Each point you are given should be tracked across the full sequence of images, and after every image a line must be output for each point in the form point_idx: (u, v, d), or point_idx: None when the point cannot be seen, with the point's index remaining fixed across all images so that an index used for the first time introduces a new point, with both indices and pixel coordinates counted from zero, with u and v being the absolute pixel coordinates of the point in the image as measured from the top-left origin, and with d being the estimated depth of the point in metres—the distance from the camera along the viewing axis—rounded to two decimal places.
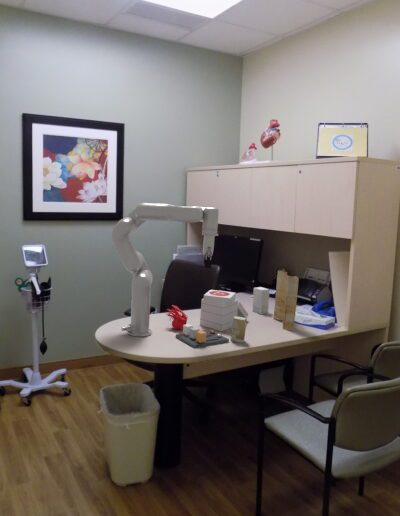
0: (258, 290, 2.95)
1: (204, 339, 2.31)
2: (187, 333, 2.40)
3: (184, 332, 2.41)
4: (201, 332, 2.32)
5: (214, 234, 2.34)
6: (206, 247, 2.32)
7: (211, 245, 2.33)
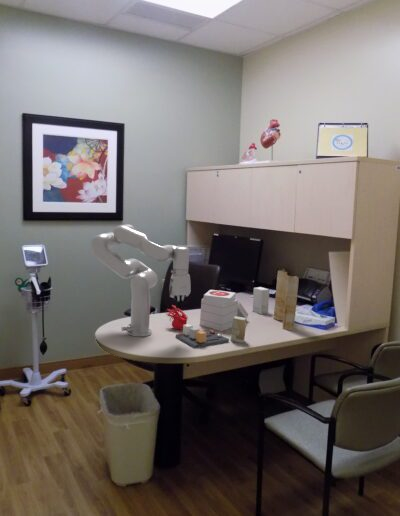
0: (258, 290, 2.95)
1: (204, 339, 2.31)
2: (187, 333, 2.40)
3: (184, 332, 2.41)
4: (201, 332, 2.32)
5: None
6: None
7: None
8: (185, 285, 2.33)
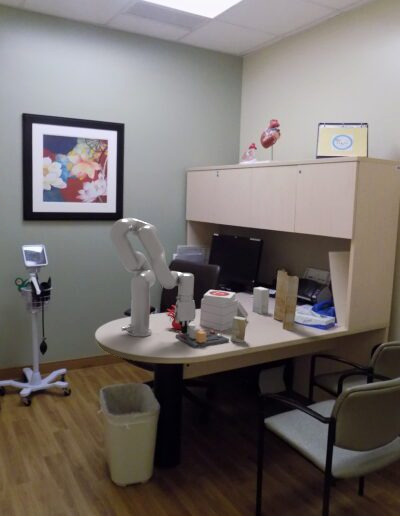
0: (258, 290, 2.95)
1: (204, 339, 2.31)
2: None
3: (187, 332, 2.42)
4: (201, 332, 2.32)
5: None
6: None
7: None
8: (190, 311, 2.37)
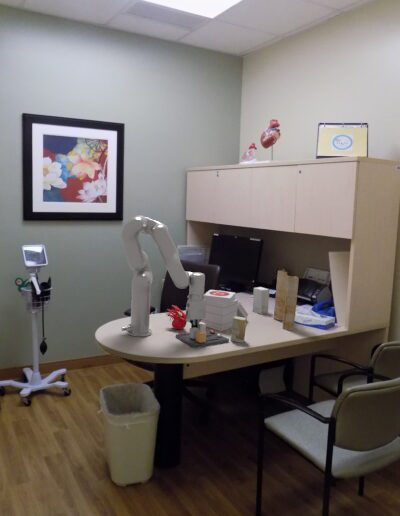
0: (258, 290, 2.95)
1: (204, 339, 2.31)
2: None
3: None
4: (201, 332, 2.32)
5: None
6: None
7: None
8: (201, 310, 2.41)
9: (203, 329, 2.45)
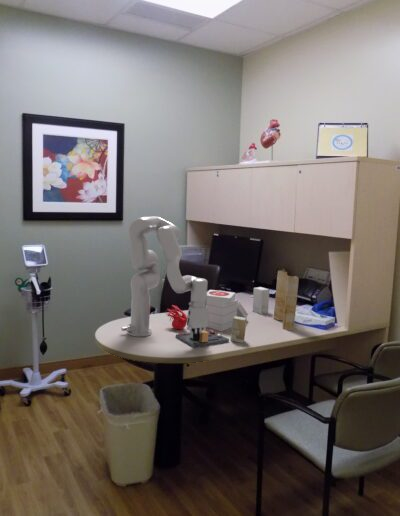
0: (258, 290, 2.95)
1: (206, 339, 2.32)
2: None
3: None
4: (203, 332, 2.32)
5: None
6: None
7: None
8: (203, 317, 2.27)
9: (203, 329, 2.45)
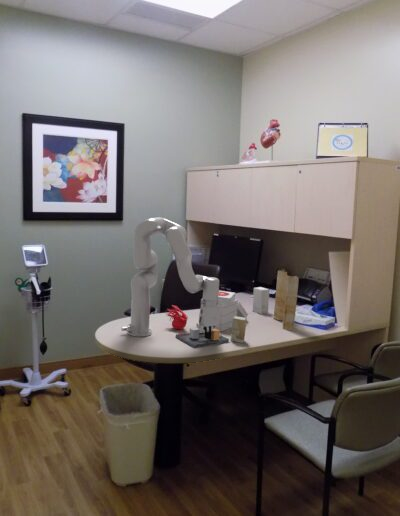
0: (258, 290, 2.95)
1: (218, 337, 2.36)
2: (200, 331, 2.45)
3: None
4: (215, 330, 2.36)
5: None
6: None
7: None
8: (215, 316, 2.31)
9: (203, 329, 2.45)
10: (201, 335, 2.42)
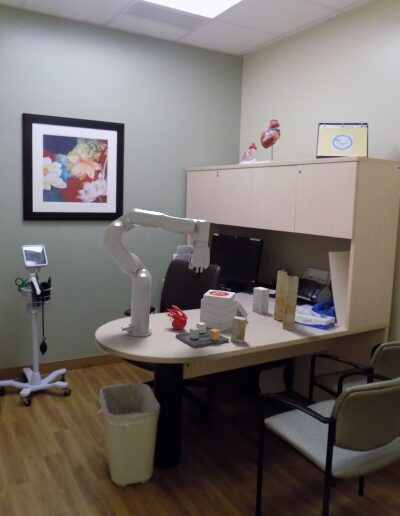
0: (258, 290, 2.95)
1: (218, 337, 2.36)
2: (200, 331, 2.45)
3: None
4: (215, 330, 2.36)
5: None
6: None
7: None
8: (204, 257, 2.39)
9: (203, 329, 2.45)
10: (201, 335, 2.42)
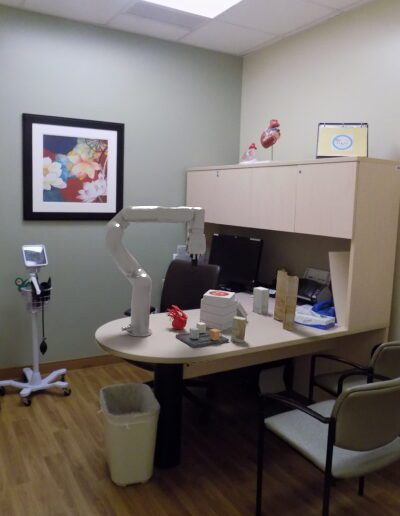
0: (258, 290, 2.95)
1: (218, 337, 2.36)
2: (200, 331, 2.45)
3: None
4: (215, 330, 2.36)
5: None
6: None
7: None
8: (201, 244, 2.44)
9: (203, 329, 2.45)
10: (201, 335, 2.42)
